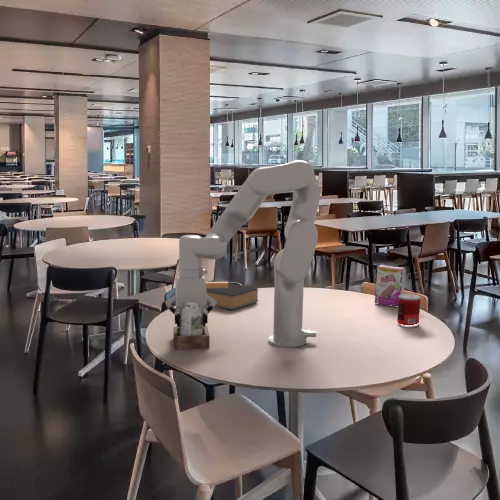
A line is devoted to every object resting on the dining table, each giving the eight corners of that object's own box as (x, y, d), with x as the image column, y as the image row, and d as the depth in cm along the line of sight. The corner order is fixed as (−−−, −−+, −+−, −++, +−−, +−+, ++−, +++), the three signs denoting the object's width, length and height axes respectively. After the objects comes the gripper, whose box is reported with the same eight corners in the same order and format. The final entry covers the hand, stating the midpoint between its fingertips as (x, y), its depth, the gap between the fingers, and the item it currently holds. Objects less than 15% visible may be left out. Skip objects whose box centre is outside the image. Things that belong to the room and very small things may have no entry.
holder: (206, 331, 202) (206, 286, 199) (209, 348, 184) (209, 298, 182) (173, 332, 200) (173, 287, 198) (173, 349, 183) (173, 299, 180)
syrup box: (191, 339, 193) (190, 297, 191) (203, 342, 190) (203, 300, 187) (178, 343, 189) (178, 300, 187) (191, 347, 185) (191, 303, 183)
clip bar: (185, 287, 197) (185, 281, 196) (227, 286, 198) (227, 281, 198) (185, 289, 194) (185, 283, 193) (228, 288, 195) (228, 283, 195)
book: (213, 294, 258) (213, 280, 257) (258, 303, 244) (258, 288, 243) (186, 301, 245) (186, 286, 244) (232, 311, 230) (232, 295, 229)
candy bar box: (374, 304, 244) (376, 266, 241) (378, 301, 248) (380, 264, 245) (400, 308, 238) (402, 269, 235) (403, 305, 242) (406, 267, 239)
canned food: (422, 324, 214) (424, 296, 213) (412, 329, 209) (413, 299, 207) (403, 320, 219) (405, 292, 218) (393, 324, 214) (394, 296, 212)
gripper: (216, 270, 190) (216, 321, 193) (163, 271, 188) (164, 323, 191) (218, 275, 183) (218, 328, 186) (163, 276, 181) (164, 329, 183)
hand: (191, 325), depth 188 cm, fingers closed on syrup box, 8 cm apart
